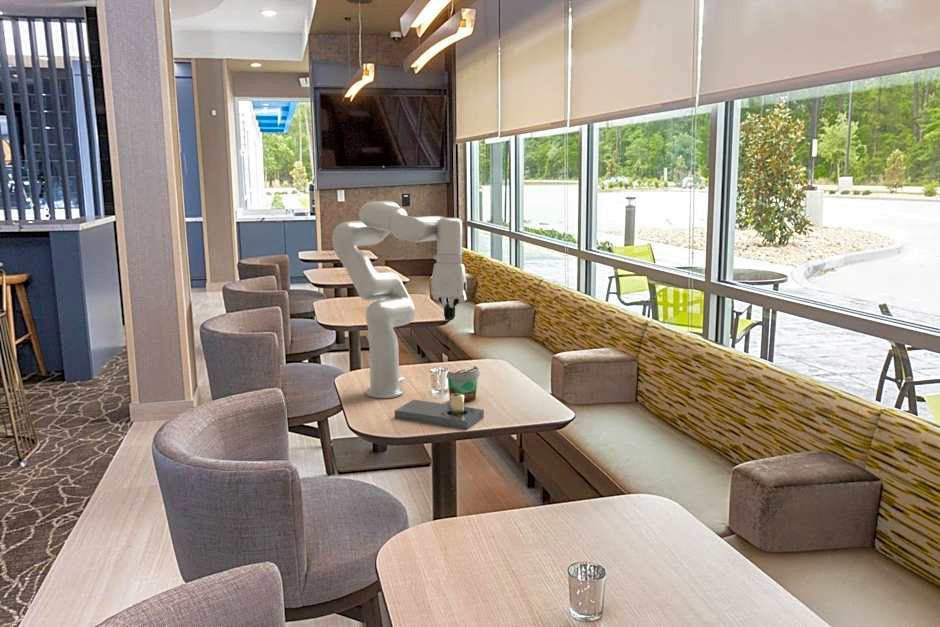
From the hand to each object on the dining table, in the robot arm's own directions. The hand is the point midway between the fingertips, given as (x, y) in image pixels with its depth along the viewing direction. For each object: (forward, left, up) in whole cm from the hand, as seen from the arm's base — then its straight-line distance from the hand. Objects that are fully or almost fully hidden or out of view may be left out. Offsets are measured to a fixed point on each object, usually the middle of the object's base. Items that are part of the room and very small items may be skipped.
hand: (449, 319), depth 234 cm
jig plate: (+7, 0, -29) cm, 30 cm away
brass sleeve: (+7, +6, -29) cm, 31 cm away
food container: (-13, 0, -29) cm, 32 cm away
